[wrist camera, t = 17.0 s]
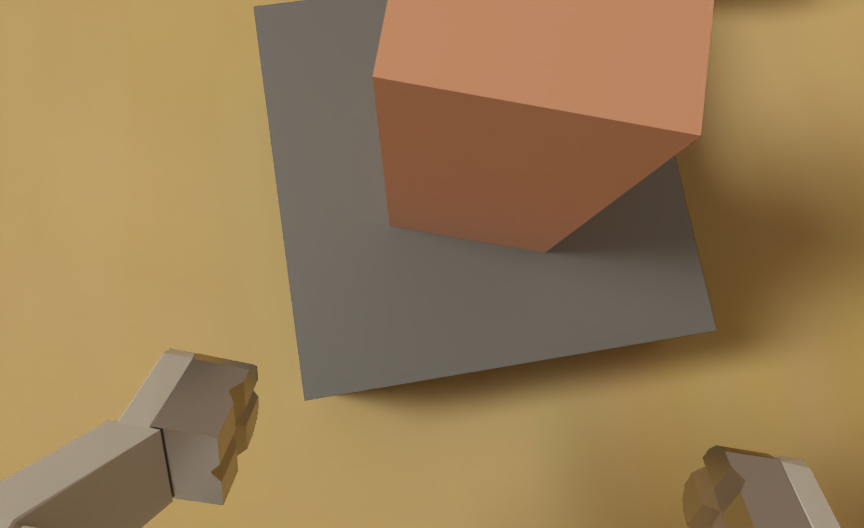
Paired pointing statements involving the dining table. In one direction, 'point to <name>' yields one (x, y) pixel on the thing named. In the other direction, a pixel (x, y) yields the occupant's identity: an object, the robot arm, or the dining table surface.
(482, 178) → the terracotta block
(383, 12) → the block
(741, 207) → the dining table surface
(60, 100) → the dining table surface
